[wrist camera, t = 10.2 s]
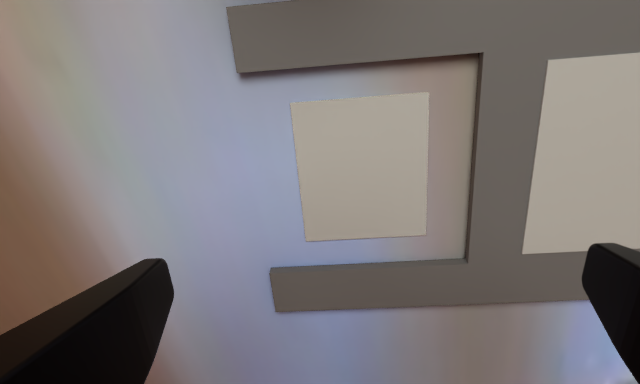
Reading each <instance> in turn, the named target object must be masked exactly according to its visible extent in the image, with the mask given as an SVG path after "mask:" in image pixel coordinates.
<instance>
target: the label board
mask: <svg viewBox="0 0 640 384" xmlns="http://www.w3.org/2000/svg"><path fill="white" fill-rule="evenodd" d="M226 9H227V15H228V21H229V27H230V33H231V40H232V46H233V52H234V58H235V64H236V70H237V73H244V72H256V71H268V70H279V69H291V68H303V67H315V66H327V65H339V64H351V63H363V62H375V61H386V60H398V59H410V58H422V57H434V56H446V55H458V54H470V53H480V54H479V68H478V82H477V97H476V111H475V125H474V140H473V154H472V168H471V183H470V197H469V211H468V226H467V240H466V254H465V259H446V260H425V261H404V262H384V263H363V264H342V265H321V266H300V267H279V268H271V270H270V273H269V274H270V280H271V286H272V292H273V298H274V304H275V311H276V312H290V311H315V310H340V309H365V308H391V307H416V306H441V305H466V304H491V303H516V302H542V301H567V300H589V298H588V296H587V294H586V292H585V291H584V288H583V286H582V273H583V268H584V264H585V260H586V256H587V251H588V249H589V247H590V246H591V245H592V244H594V243H617V244H620V245H622V246H625V247H628V248H631V249H634V250H637V251H639V252H640V0H294V1H284V2H274V3H263V4H253V5H242V6H232V7H226ZM290 107H291V116H292V125H293V133H294V142H295V151H296V160H297V168H298V177H299V186H300V195H301V203H302V212H303V221H304V229H305V238H306V241H324V240H343V239H362V238H382V237H401V236H420V235H426V210H427V167H428V124H429V92H424V93H411V94H398V95H385V96H372V97H360V98H347V99H334V100H321V101H308V102H295V103H290Z"/></svg>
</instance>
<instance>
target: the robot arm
mask: <svg viewBox="0 0 640 384" xmlns="http://www.w3.org/2000/svg"><path fill="white" fill-rule="evenodd" d="M582 286H583V288H584V291H585V292H586V294H587V296H588V298H589V300H590V302H591V304H592V306H593V307H594V309H595V311H596V313H597V315H598V317H599V319H600V320H601V322H602V324H603V326H604V328H605V330H606V332H607V334H608V335H609V337H610V339H611V341H612V343H613V345H614V346H615V348H616V350H617V351H618V353H619V355H620V356H621V358H622V360H623V361H624V363H625V364H626V366H627V367H628V369H629V370H630V372H631V373H632V375H633V376H634V378H635V379H636V381H637V382H638V384H640V252H639V251H637V250H634V249H631V248H628V247H625V246H622V245H620V244H617V243H594V244H592V245H591V246H590V247H589V249H588V251H587V256H586V260H585V264H584V268H583V273H582ZM173 298H174V289H173V285H172V281H171V277H170V273H169V269H168V265H167V263H166V261H165V260H164V259H162V258H155V259H144V260H142V261H140V262H138V263H136V264H134V265H133V266H131V267H129V268H127V269H125V270H123V271H121V272H119V273H117V274H115V275H114V276H112V277H110V278H108V279H106V280H104V281H102V282H100V283H98V284H97V285H95V286H93V287H91V288H89V289H87V290H85V291H83V292H81V293H79V294H78V295H76V296H74V297H72V298H70V299H68V300H66V301H64V302H62V303H61V304H59V305H57V306H55V307H53V308H51V309H49V310H47V311H45V312H43V313H42V314H40V315H38V316H36V317H34V318H32V319H30V320H28V321H26V322H25V323H23V324H21V325H19V326H17V327H15V328H13V329H11V330H9V331H7V332H6V333H4V334H2V335H0V384H144V383H145V380H146V378H147V376H148V373H149V371H150V369H151V366H152V364H153V361H154V358H155V355H156V353H157V350H158V346H159V343H160V340H161V337H162V334H163V331H164V327H165V324H166V321H167V318H168V315H169V312H170V308H171V305H172V302H173Z"/></svg>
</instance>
